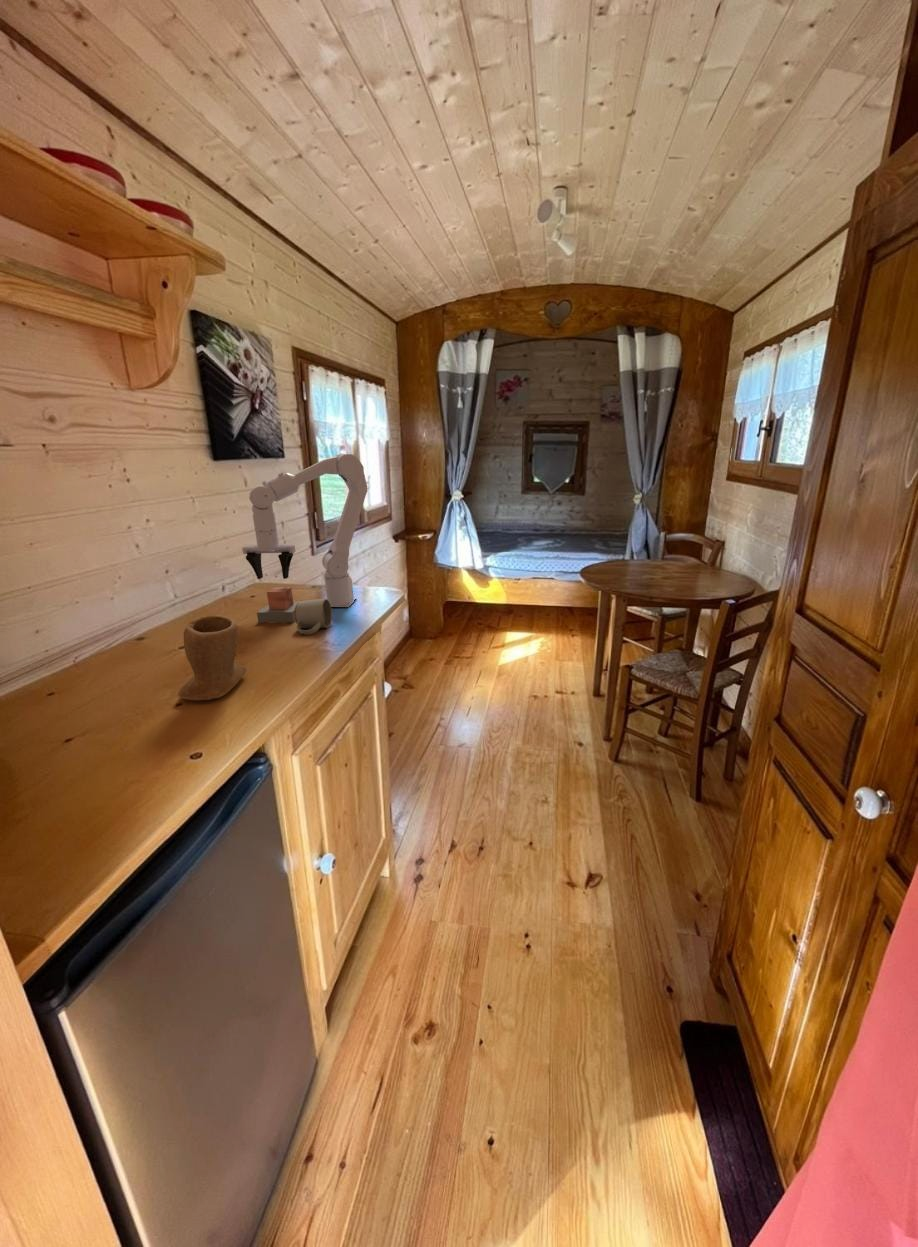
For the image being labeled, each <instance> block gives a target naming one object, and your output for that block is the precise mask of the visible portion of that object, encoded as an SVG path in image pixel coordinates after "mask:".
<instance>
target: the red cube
mask: <svg viewBox="0 0 918 1247" xmlns="http://www.w3.org/2000/svg"><path fill="white" fill-rule="evenodd" d="M266 595H267V601H268V602H267V603H268V604H269V609H287V608H289V607H290V606H292V605H293V602H294V598H293V589H292V587H289V586H287V587H285V586H284V587H282V586H281V587H272V588H271V589H269V590H267V591H266ZM268 604H267V605H268Z"/></svg>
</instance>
